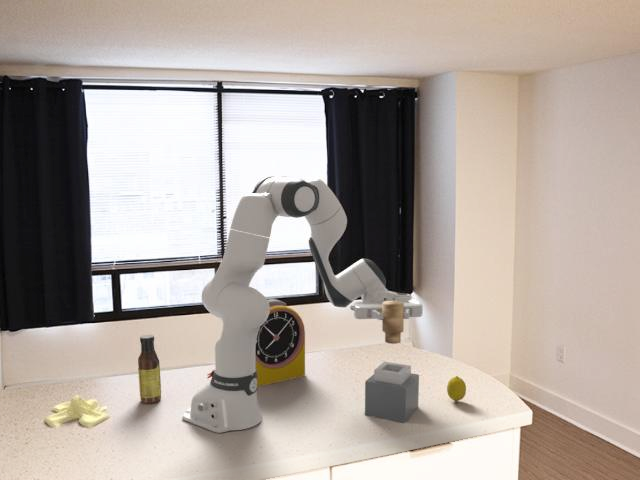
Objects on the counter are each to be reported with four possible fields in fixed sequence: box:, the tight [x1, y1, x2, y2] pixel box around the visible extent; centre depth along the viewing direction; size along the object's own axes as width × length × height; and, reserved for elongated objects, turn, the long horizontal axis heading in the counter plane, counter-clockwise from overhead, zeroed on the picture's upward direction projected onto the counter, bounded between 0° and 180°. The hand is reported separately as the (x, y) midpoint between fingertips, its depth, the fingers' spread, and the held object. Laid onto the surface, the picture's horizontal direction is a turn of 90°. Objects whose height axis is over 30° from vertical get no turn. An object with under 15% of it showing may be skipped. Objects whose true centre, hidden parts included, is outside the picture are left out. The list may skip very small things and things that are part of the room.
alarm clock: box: [256, 298, 306, 387], centre depth 203 cm, size 21×9×26 cm, turn 123°
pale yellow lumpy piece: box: [44, 394, 112, 429], centre depth 177 cm, size 22×19×6 cm
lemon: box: [446, 375, 467, 403], centre depth 185 cm, size 6×6×8 cm
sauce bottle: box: [137, 334, 162, 404], centre depth 184 cm, size 6×6×20 cm
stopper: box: [381, 301, 405, 345], centre depth 176 cm, size 6×6×11 cm
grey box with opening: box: [364, 361, 420, 424], centre depth 177 cm, size 12×12×13 cm
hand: (393, 316), depth 174 cm, fingers closed on stopper, 6 cm apart
